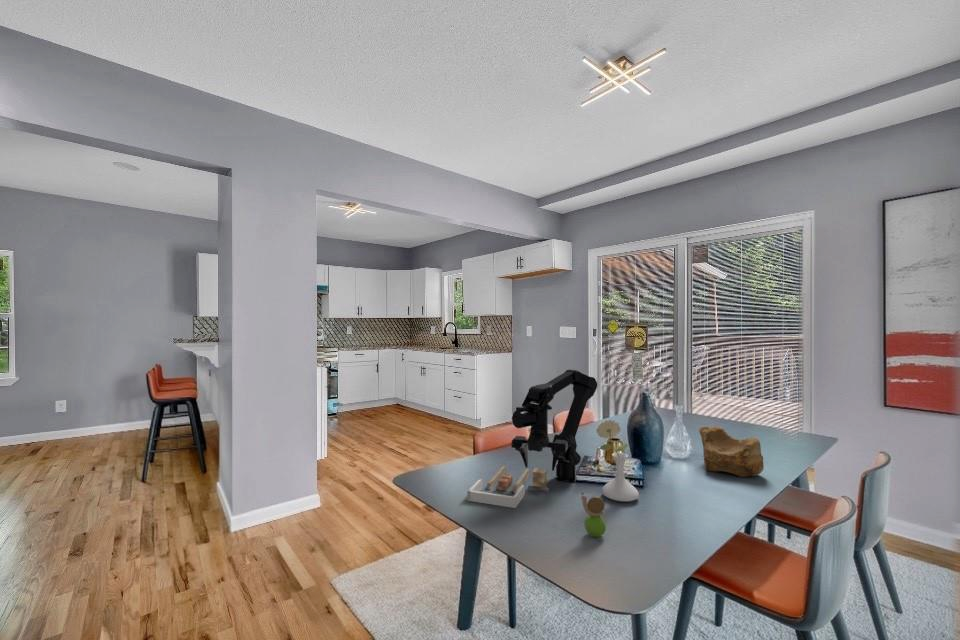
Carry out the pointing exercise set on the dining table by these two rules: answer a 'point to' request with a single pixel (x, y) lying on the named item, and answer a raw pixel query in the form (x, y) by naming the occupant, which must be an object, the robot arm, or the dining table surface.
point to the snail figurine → (594, 516)
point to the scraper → (539, 480)
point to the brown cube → (508, 478)
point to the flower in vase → (619, 485)
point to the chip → (503, 484)
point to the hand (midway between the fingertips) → (539, 468)
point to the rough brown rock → (731, 453)
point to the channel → (501, 473)
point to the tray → (494, 496)
